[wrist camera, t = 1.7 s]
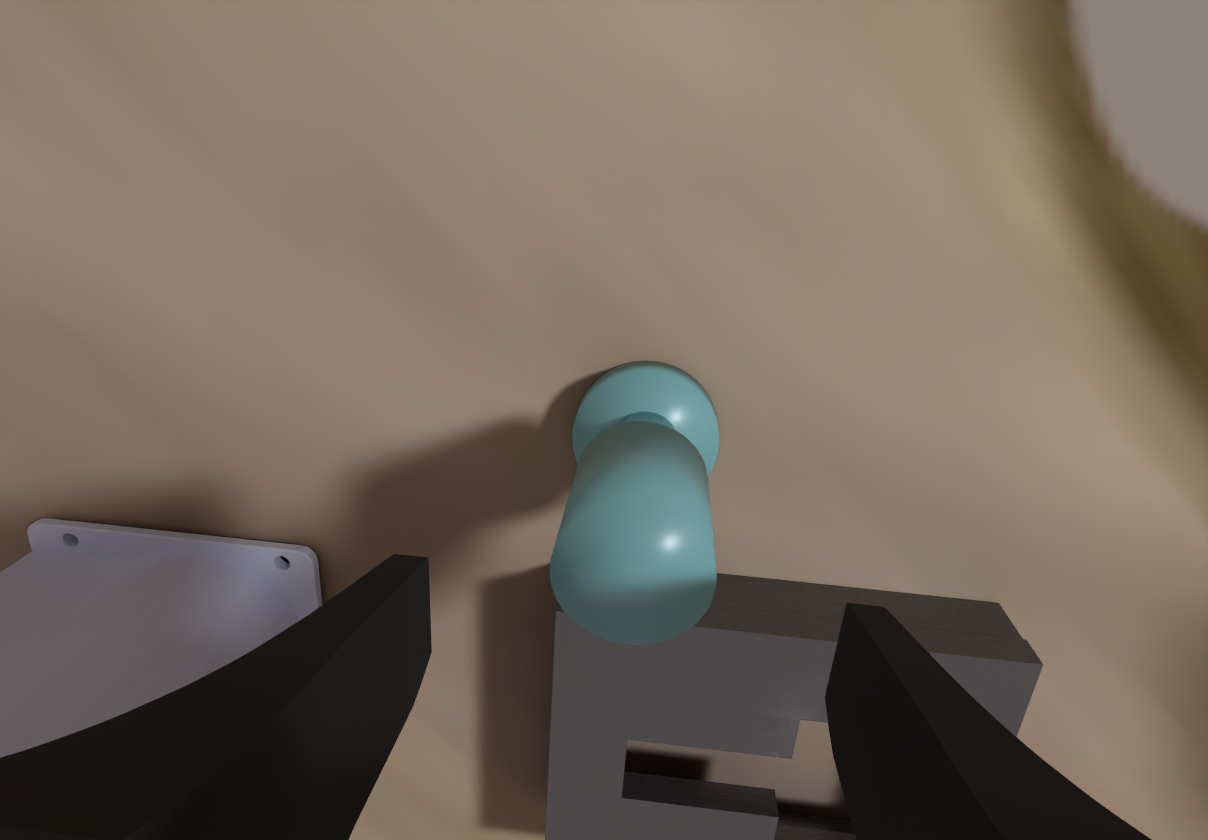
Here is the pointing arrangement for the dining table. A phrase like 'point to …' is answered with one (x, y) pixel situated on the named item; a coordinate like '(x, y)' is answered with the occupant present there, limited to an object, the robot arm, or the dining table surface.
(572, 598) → the peg
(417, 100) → the dining table surface
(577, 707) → the keyhole plate
